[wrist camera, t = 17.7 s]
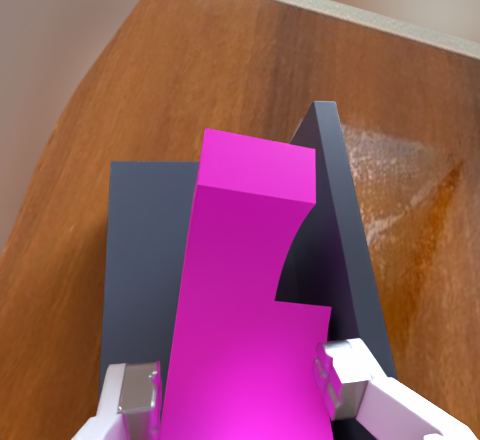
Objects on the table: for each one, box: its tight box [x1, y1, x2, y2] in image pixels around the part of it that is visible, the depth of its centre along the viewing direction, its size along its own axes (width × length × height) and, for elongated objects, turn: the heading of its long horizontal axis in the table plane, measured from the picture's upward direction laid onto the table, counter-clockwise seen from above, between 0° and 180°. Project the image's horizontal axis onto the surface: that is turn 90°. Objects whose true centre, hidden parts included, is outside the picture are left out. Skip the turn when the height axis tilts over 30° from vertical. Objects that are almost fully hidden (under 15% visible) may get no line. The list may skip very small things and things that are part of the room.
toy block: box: [160, 128, 333, 440], centre depth 11 cm, size 15×6×8 cm, turn 176°
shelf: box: [98, 101, 398, 440], centre depth 16 cm, size 12×24×12 cm, turn 5°
